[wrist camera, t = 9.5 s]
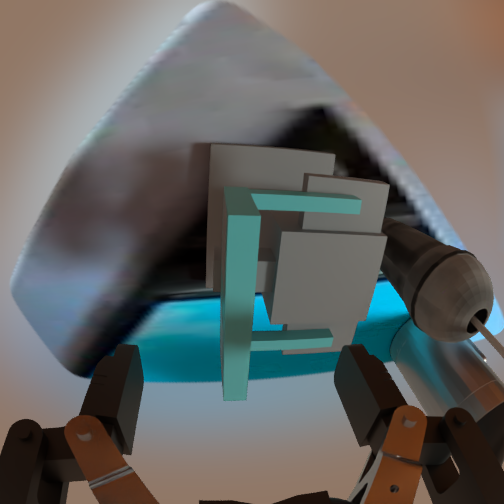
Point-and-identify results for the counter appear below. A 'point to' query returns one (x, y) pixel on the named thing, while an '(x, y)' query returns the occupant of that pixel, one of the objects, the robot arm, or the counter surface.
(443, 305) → the beverage cup
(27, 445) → the robot arm
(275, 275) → the stand
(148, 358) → the counter surface
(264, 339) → the teal c-shaped bracket
